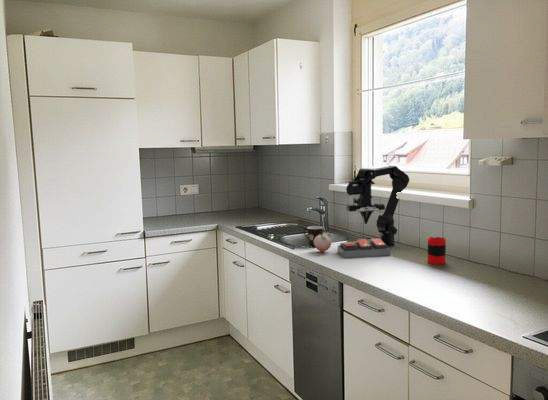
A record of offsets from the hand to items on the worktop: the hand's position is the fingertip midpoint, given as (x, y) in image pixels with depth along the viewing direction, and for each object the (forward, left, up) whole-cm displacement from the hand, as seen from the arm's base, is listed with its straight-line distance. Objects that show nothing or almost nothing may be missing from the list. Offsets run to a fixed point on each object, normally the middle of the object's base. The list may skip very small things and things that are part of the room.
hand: (365, 223), depth 239 cm
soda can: (-22, +33, -13) cm, 42 cm away
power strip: (+4, +10, -13) cm, 17 cm away
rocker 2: (-3, +10, -8) cm, 13 cm away
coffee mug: (+24, -14, -13) cm, 31 cm away
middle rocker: (+4, +10, -8) cm, 14 cm away
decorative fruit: (+23, +2, -13) cm, 27 cm away
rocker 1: (+12, +10, -8) cm, 18 cm away
